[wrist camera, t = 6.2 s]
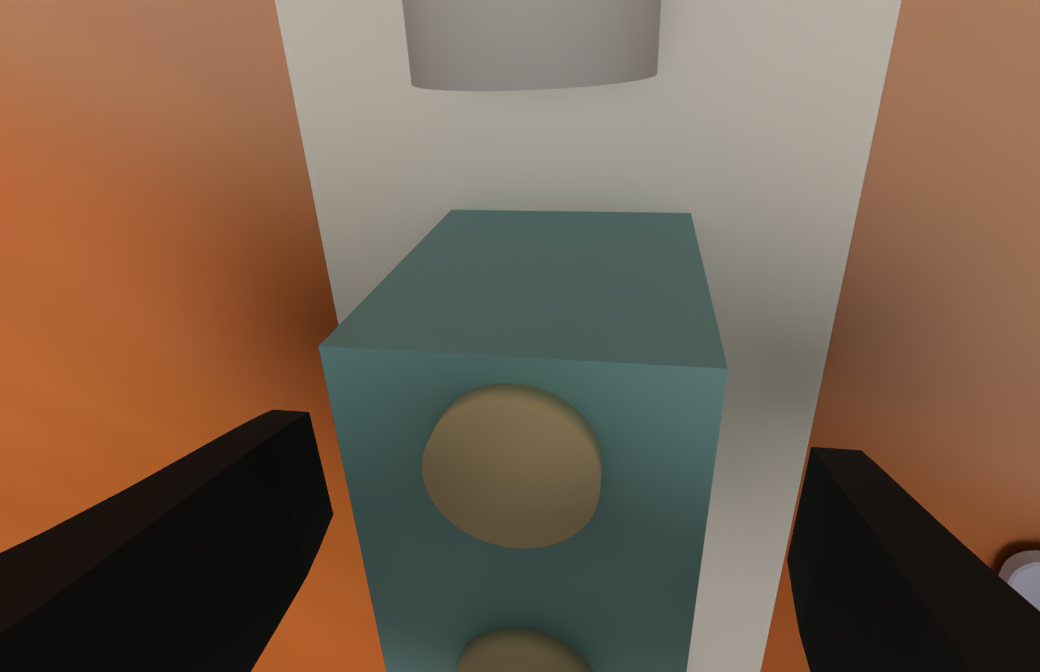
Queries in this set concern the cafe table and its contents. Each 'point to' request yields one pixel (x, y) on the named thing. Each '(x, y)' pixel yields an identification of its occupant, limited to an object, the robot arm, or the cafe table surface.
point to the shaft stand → (623, 189)
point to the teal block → (533, 441)
